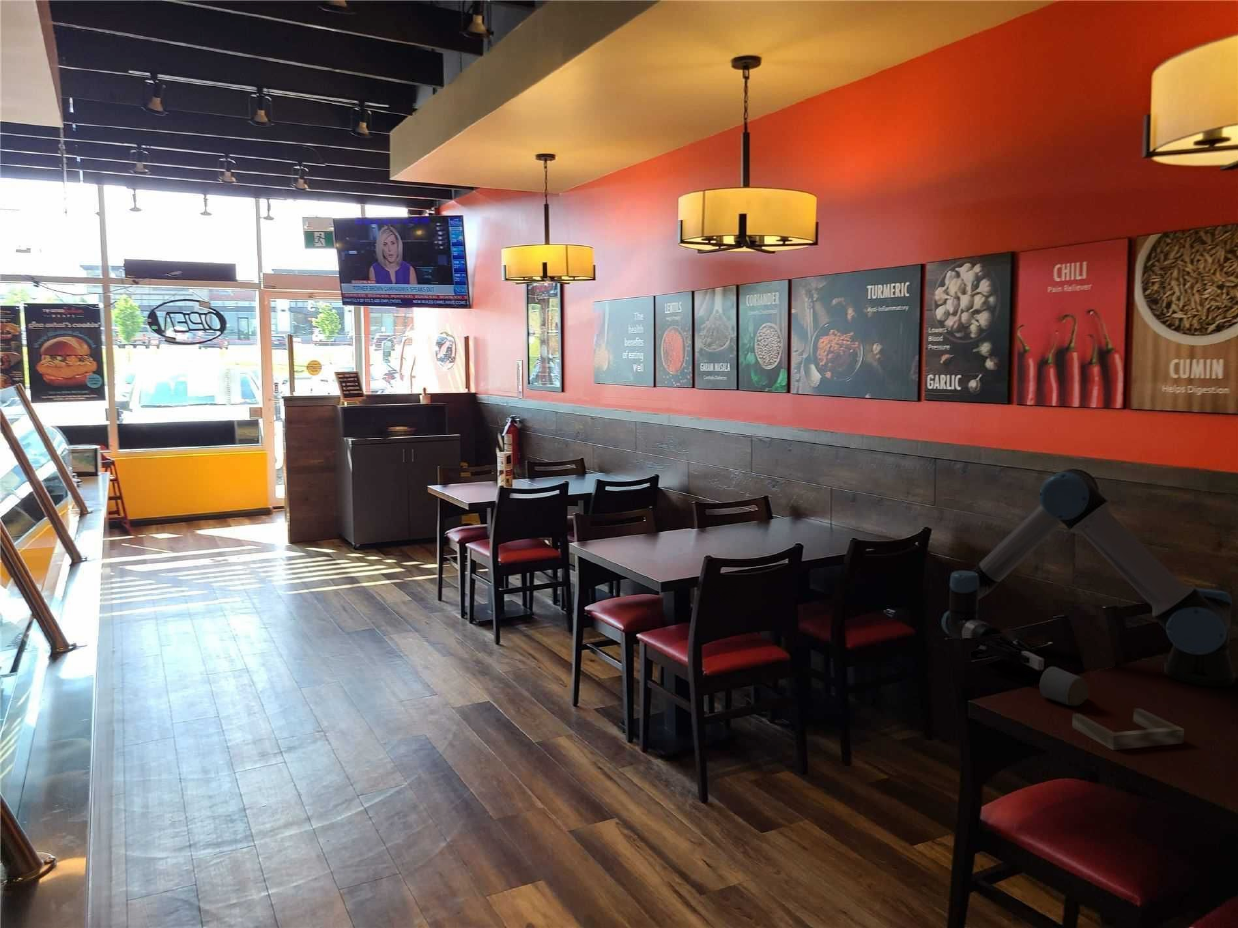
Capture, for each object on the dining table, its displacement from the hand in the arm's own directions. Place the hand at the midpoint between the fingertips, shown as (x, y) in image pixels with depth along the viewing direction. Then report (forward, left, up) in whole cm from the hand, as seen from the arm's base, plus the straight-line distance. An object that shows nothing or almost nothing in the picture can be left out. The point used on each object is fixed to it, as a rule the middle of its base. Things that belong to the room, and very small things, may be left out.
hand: (1040, 664), depth 214 cm
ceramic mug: (-1, +7, -7) cm, 10 cm away
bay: (0, +28, -6) cm, 29 cm away
